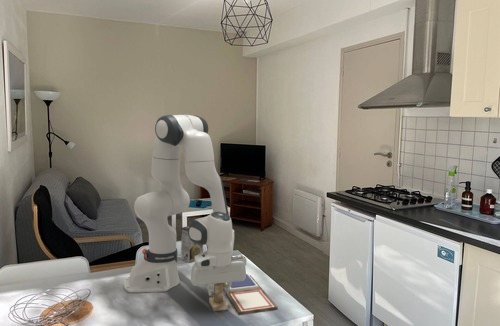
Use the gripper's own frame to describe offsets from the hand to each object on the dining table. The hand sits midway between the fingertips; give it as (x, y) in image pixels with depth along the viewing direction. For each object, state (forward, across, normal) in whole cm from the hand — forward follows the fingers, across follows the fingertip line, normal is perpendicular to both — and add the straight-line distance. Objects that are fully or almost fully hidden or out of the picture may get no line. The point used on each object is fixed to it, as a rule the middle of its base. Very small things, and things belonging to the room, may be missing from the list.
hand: (218, 293), depth 141 cm
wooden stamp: (+5, 0, 0) cm, 5 cm away
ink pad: (+5, -13, -15) cm, 20 cm away
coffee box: (+5, 0, -51) cm, 51 cm away
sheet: (+5, -13, 0) cm, 14 cm away
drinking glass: (+5, -16, -45) cm, 48 cm away
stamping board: (+5, -13, -8) cm, 16 cm away
